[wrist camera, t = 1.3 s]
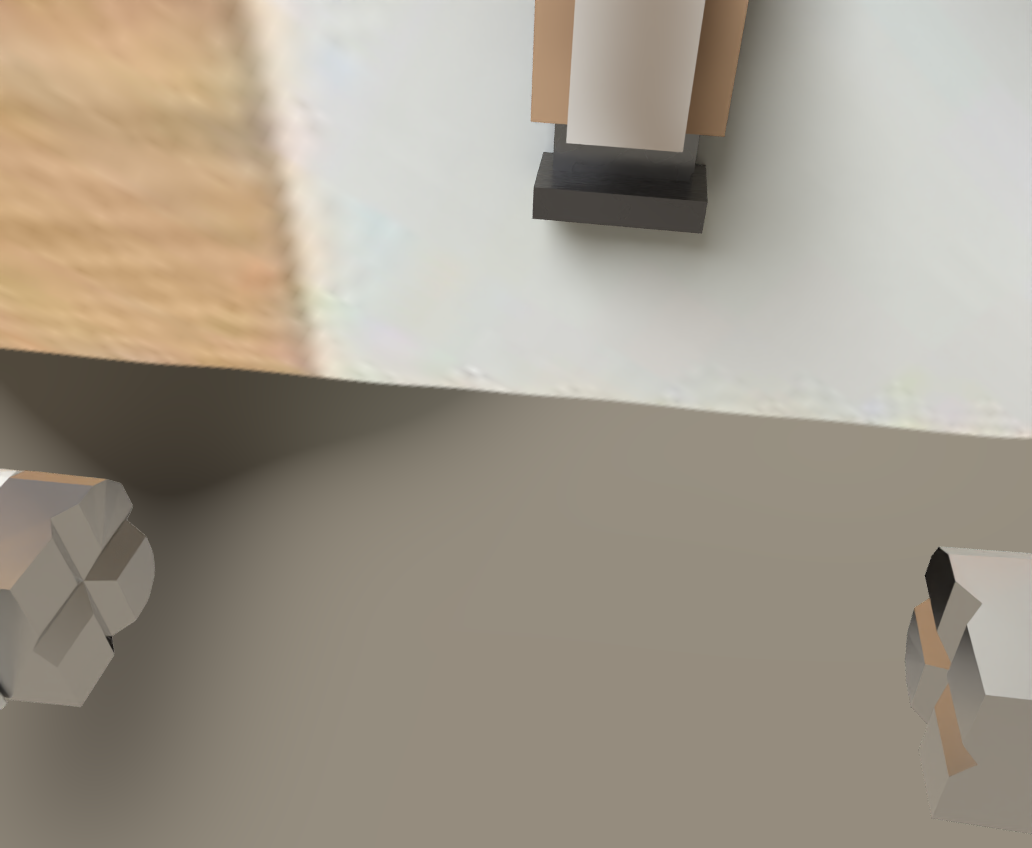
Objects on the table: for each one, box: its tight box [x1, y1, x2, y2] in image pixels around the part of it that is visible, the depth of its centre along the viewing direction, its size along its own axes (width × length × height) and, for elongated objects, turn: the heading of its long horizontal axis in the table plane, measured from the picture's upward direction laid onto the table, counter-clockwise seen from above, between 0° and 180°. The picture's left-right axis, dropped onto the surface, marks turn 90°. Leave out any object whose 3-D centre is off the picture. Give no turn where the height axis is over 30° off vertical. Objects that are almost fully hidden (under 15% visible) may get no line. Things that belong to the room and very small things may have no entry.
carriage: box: [531, 0, 749, 152], centre depth 25 cm, size 6×8×8 cm
